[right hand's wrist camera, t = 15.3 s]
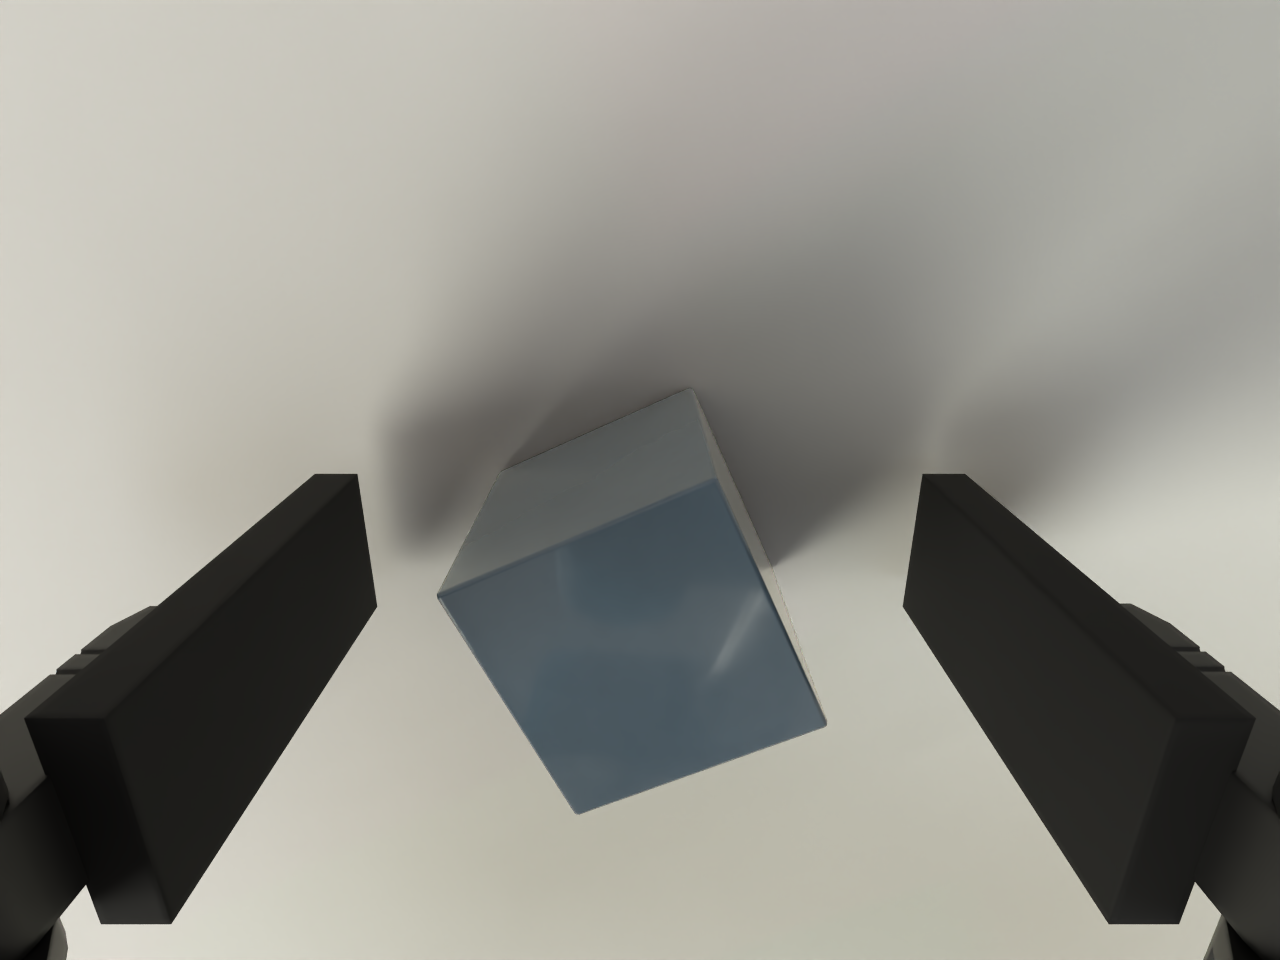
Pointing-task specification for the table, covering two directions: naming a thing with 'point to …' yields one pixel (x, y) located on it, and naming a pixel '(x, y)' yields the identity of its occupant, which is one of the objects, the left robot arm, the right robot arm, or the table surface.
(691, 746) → the block
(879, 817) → the table surface
